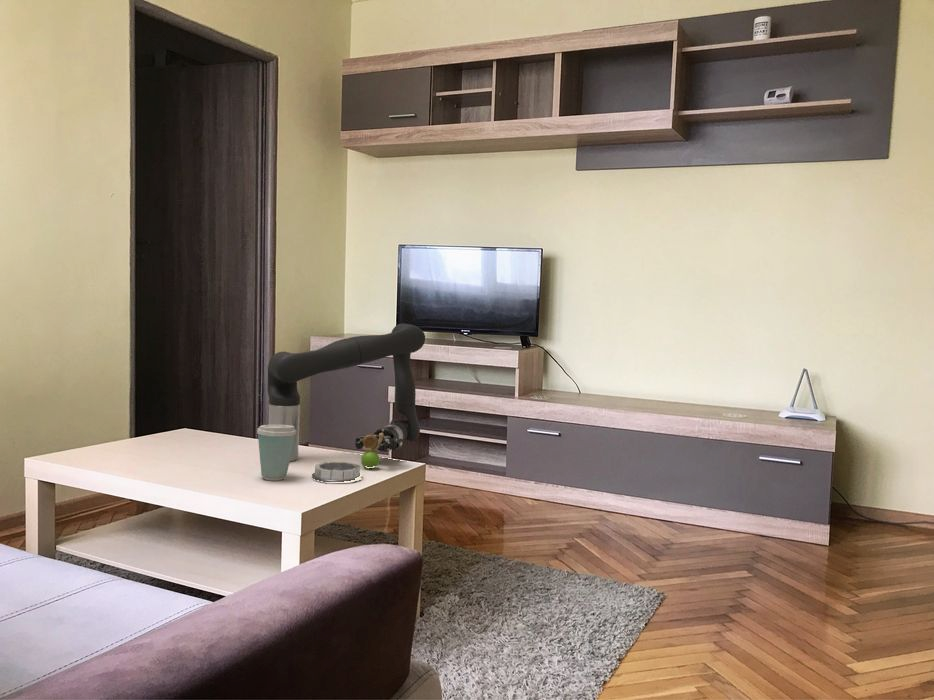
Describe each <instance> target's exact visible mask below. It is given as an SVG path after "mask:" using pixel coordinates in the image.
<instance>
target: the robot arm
mask: <svg viewBox="0 0 934 700" xmlns="http://www.w3.org/2000/svg"><path fill="white" fill-rule="evenodd" d="M425 342H426V335H425V332H424V331H423V330H422V329H421V328H420V327H418V326H416V325H413V324H410V323H399V324H397V325H395V326H394V327H393V329H392V331H391V332H390V333H386V334H372V335H371V334H369V335H357V336H352V337H347V338H343V339H339V340H335V341H333V342H331V343H329V344H326V345H325V346H323V347H321V348H318V349H316V350H310V351H304V352H297V353H293V352H289V351H278V352H276V353H275V354H273V355H271V357H270V359H269V361H268V366H267V394H268V399H269V400H268V425H290V426H294V427H295V430H296V434H295V438H294V443H293V447H292V452H291V457H290V461H291V462H296V461H298V460H299V445H300V443H299V442H300V415H301V414H300V413H301V411H300V410H301V396H300V393H299V391H298V382H299V381H301V380H304V379H308V378H310V377H312V376H315V375H319V374H323V373H327V372H334V371H338V370H343V369H349V368H353V367H357V366H361V365H363V364H367V363H370V362H374V361H378V360H381V359H384V358H387V357H391V356H392V361H393V370H394V371H393V372H394V373H393V374H394V410H395V412H397V413H398V414H402V415H403V416H405V417H406V419H405V418H404V419H403V418H394V419H392V420H391V421H390V422H389V424H388V425H385V426H382V427H380V428H378V429H377V430H376V431H375V432H374V433H373V435H374V436H375V437H376V438H377V440H379V434H380V433H383V434H384V435H383V439H382V443H381V445H380V447H379V449H377V450H376V451H380V452H381V453H382V452H383V453H387V452H390V451H397V450H399V449H402V448H403V443H404V442H405V441H406V442H407V441H408V442H415V441H417V439H418V438H419V437H420V433H421V429H420V423H419V419H418V416H417V410H416V384H415V379H414V375H413V374H414V373H413V372H412V365H411V364H412V363H411V356H412V355H411V354H413V353H416V352H418V351H419V350H421V349H422V348H423V346H424V345H425ZM382 429H383V430H384V431H382ZM364 437H365V435H363V434H361V435H359V436H357V437H355V444H354V446H355V448H356V449H357V450H361V449H363V447H365V446H364V445H363V439H364ZM297 459H298V460H297ZM295 460H296V461H295Z"/></svg>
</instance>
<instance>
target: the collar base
mask: <svg viewBox="0 0 934 700" xmlns="http://www.w3.org/2000/svg"><path fill="white" fill-rule="evenodd" d="M360 472H361V466H360V464H357V463H355V462H348V461H324V462H320V463H316V464H315V465H314V472H313V473H312V474H311V478H313V479H315V480H319V481H323V482H344V481H351V480H355V478H357V477H359V476H360ZM313 479H312V480H313Z"/></svg>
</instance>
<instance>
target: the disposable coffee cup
mask: <svg viewBox="0 0 934 700" xmlns="http://www.w3.org/2000/svg"><path fill="white" fill-rule="evenodd" d="M256 433H257V439H258V441H257V442H258V450H259V462H260V463H259V464H260V474H261V477H262V479H263V480H266V481H282V479H283V480H285V479H286V477H287V476H288V471H289V467H290V457H291V452H292V447H293V443H294V438H295V434H296V430H295V427H294V426H290V425H269V424H262V425H260V426H259V427H258V428H257V429H256ZM284 478H285V479H284Z"/></svg>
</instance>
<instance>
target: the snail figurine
mask: <svg viewBox="0 0 934 700" xmlns="http://www.w3.org/2000/svg"><path fill="white" fill-rule="evenodd" d="M382 431H384V430H383V429H382ZM383 435H384V434H383V433H380V434H379V440H377V438H376V437H375V436H374V434H367V435H364V439H363V445H364V446H365V447H363V448H362V449H363V451H365V452H364V453H363V454H362V455H361V457H360V458H361V459H360V463H361V464H362V467H364V466H367V467H373V466H377V467H378V466H379V464H380V456H379V454H378V453H377V452H376V451H378V450H377V449H379V447H380V445H381V443H382V439H383Z"/></svg>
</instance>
